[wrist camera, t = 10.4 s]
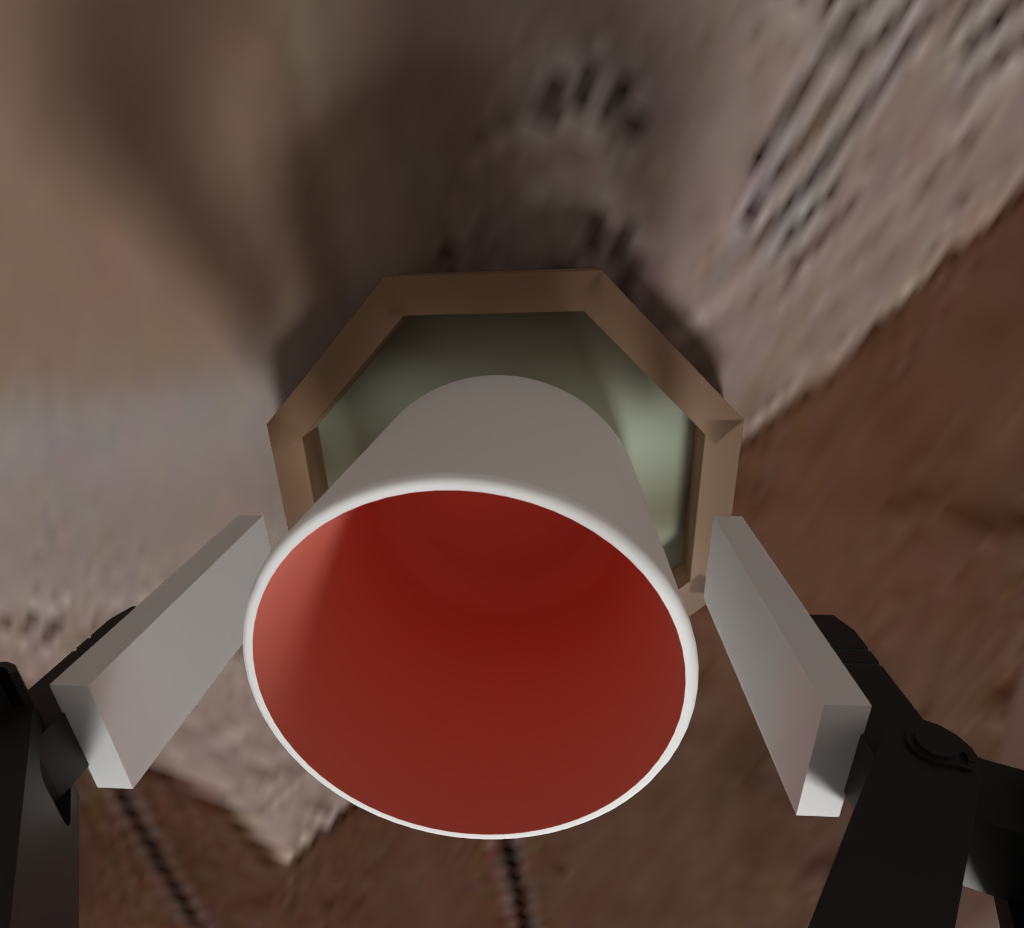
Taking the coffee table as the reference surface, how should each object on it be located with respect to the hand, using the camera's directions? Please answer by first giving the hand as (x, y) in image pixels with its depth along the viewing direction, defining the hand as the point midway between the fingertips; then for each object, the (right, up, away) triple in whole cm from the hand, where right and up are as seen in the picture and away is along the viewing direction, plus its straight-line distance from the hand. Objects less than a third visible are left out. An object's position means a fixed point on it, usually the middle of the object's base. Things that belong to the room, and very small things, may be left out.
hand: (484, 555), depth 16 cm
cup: (0, +2, +5) cm, 6 cm away
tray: (+1, +2, +6) cm, 6 cm away
